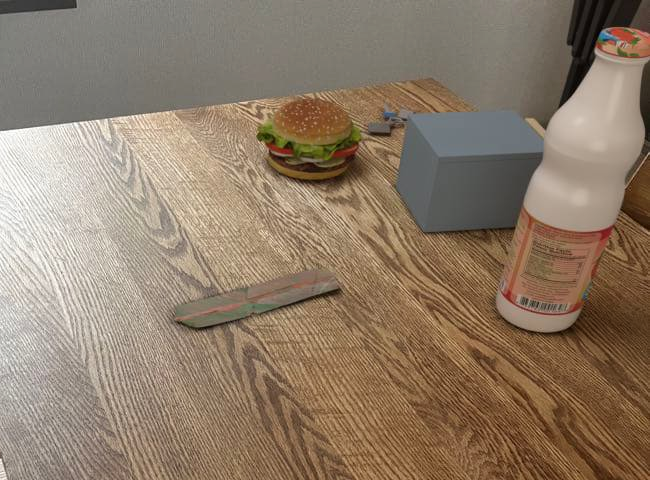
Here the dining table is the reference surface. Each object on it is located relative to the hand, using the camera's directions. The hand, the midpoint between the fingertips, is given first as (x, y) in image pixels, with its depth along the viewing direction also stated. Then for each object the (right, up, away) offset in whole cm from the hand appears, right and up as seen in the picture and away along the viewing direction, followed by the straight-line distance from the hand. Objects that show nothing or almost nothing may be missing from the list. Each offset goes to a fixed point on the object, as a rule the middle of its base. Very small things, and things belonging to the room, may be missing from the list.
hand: (568, 117), depth 103 cm
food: (-32, +1, +14) cm, 35 cm away
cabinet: (-12, -9, +7) cm, 16 cm away
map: (-39, -26, -10) cm, 48 cm away
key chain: (-17, +12, +25) cm, 32 cm away
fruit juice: (-8, -27, -10) cm, 30 cm away
